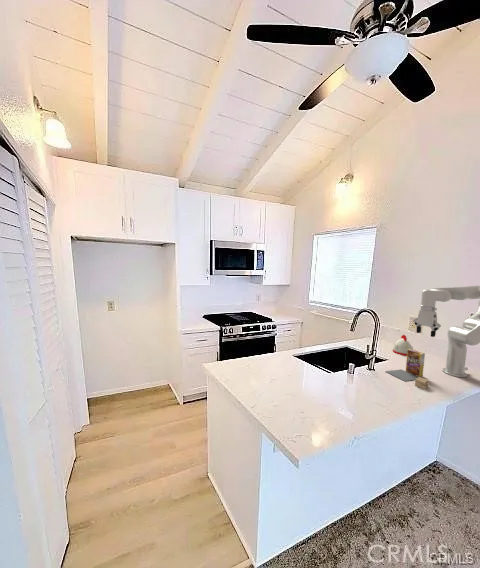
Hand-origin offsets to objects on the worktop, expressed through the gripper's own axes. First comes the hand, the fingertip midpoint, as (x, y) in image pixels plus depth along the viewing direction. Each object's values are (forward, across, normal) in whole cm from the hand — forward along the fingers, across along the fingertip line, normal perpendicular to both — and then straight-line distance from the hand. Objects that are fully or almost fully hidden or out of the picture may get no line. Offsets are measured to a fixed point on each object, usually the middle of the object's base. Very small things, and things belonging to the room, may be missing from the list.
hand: (425, 334), depth 168 cm
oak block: (+26, -14, +19) cm, 35 cm away
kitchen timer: (+26, +34, -24) cm, 49 cm away
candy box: (+26, 0, +7) cm, 27 cm away
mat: (+26, 0, +17) cm, 31 cm away
